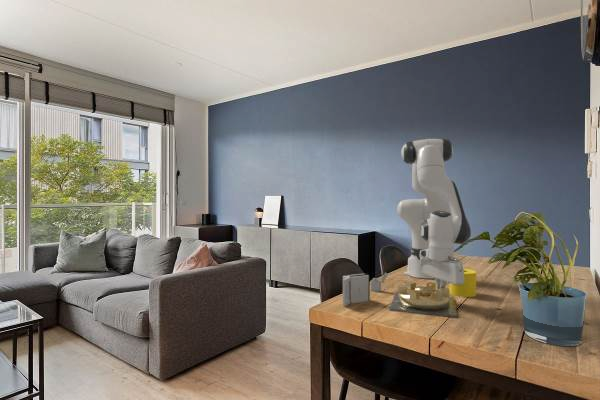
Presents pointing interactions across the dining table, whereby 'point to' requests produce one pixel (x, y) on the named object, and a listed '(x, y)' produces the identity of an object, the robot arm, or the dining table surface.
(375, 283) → the grey angled block
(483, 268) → the dining table surface
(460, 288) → the yellow toilet paper roll
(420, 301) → the gold radial fin assembly
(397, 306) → the base plate
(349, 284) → the grey and black block
